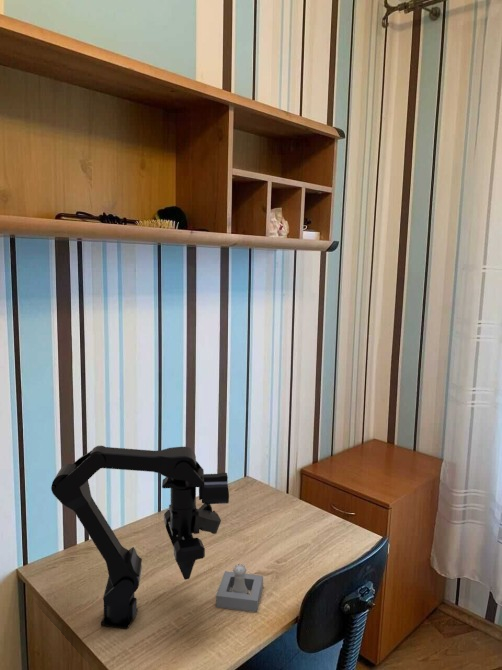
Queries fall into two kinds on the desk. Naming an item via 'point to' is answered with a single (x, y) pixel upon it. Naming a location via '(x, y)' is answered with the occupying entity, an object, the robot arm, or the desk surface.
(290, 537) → the desk surface
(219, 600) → the hollow square block
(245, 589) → the rook chess piece
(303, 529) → the desk surface
